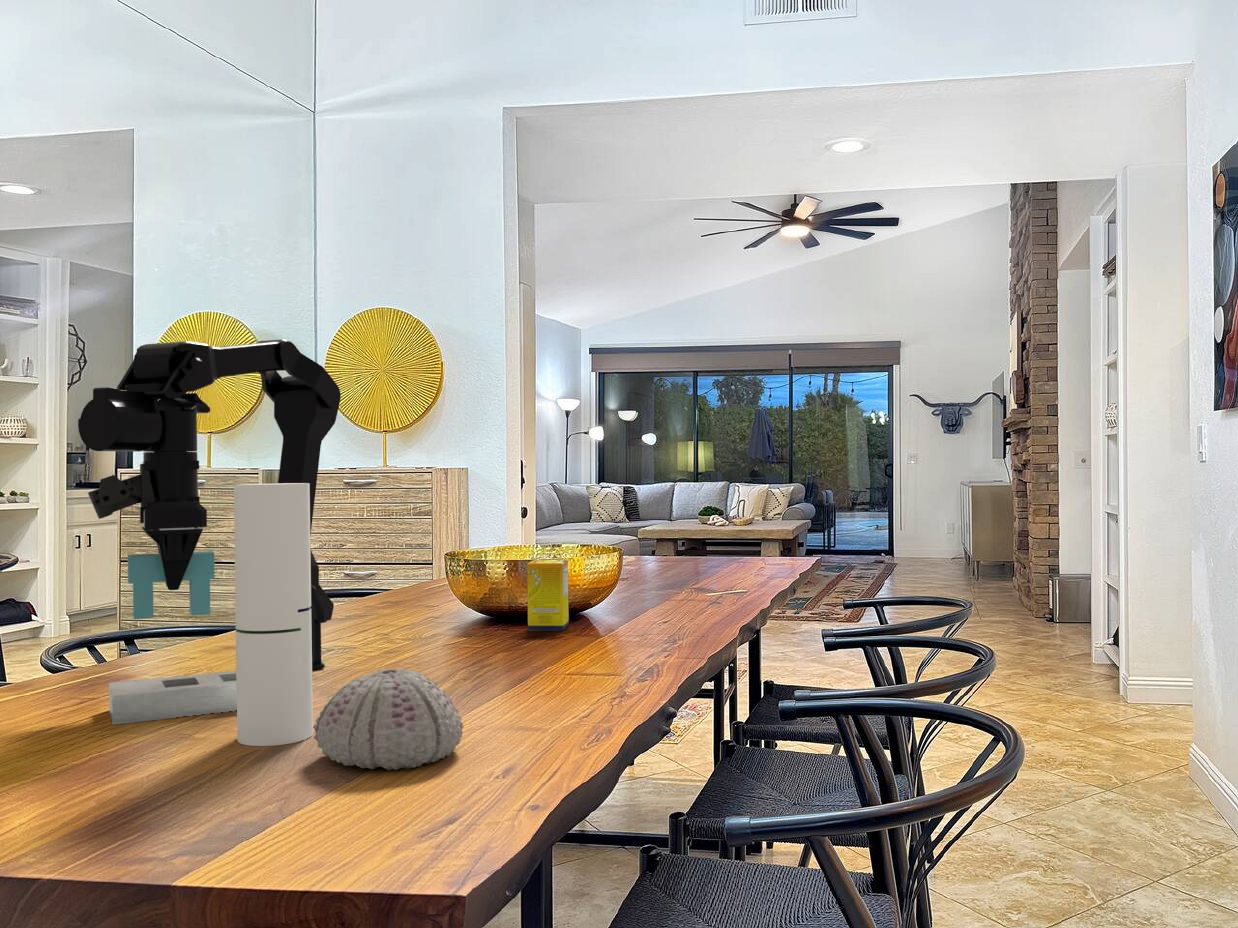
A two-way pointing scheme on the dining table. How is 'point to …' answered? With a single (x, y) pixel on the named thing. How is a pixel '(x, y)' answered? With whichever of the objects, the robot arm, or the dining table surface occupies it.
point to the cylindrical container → (273, 613)
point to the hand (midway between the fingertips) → (172, 588)
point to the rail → (172, 697)
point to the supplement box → (547, 595)
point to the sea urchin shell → (388, 722)
